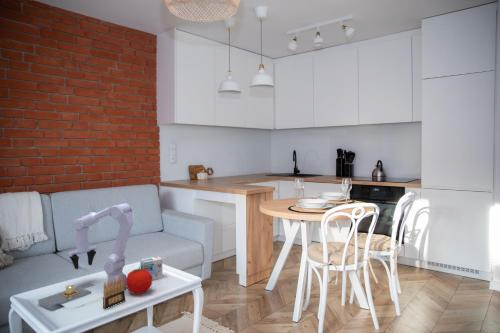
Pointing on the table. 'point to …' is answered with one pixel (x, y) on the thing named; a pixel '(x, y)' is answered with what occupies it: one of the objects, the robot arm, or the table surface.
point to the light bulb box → (152, 266)
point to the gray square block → (86, 285)
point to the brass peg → (69, 290)
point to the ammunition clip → (113, 293)
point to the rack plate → (61, 299)
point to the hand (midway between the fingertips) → (83, 266)
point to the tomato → (139, 281)
